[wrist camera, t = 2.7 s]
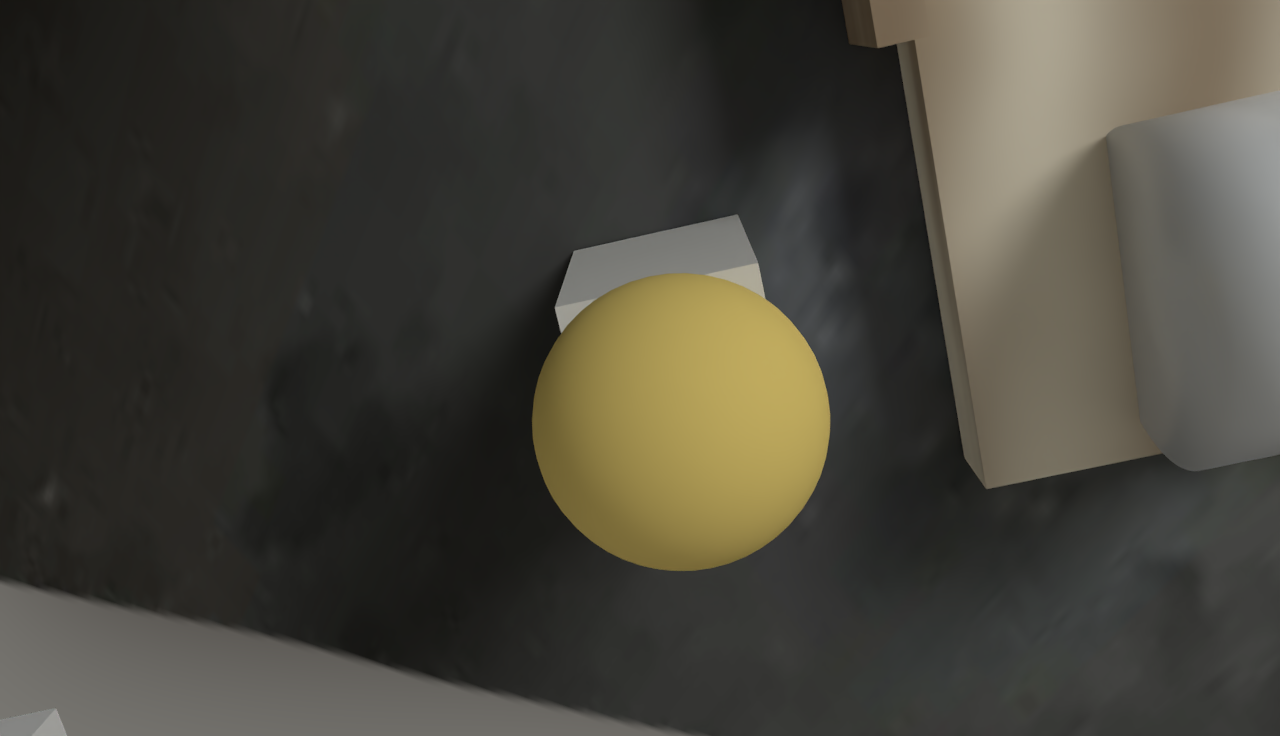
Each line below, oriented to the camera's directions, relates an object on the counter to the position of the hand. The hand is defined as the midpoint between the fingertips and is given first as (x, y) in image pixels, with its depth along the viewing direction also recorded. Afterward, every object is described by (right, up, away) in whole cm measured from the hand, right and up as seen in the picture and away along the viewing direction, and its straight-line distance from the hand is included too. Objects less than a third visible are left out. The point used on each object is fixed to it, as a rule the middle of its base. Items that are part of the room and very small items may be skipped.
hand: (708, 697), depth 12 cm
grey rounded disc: (+11, +6, +15) cm, 20 cm away
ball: (0, +2, +8) cm, 9 cm away
